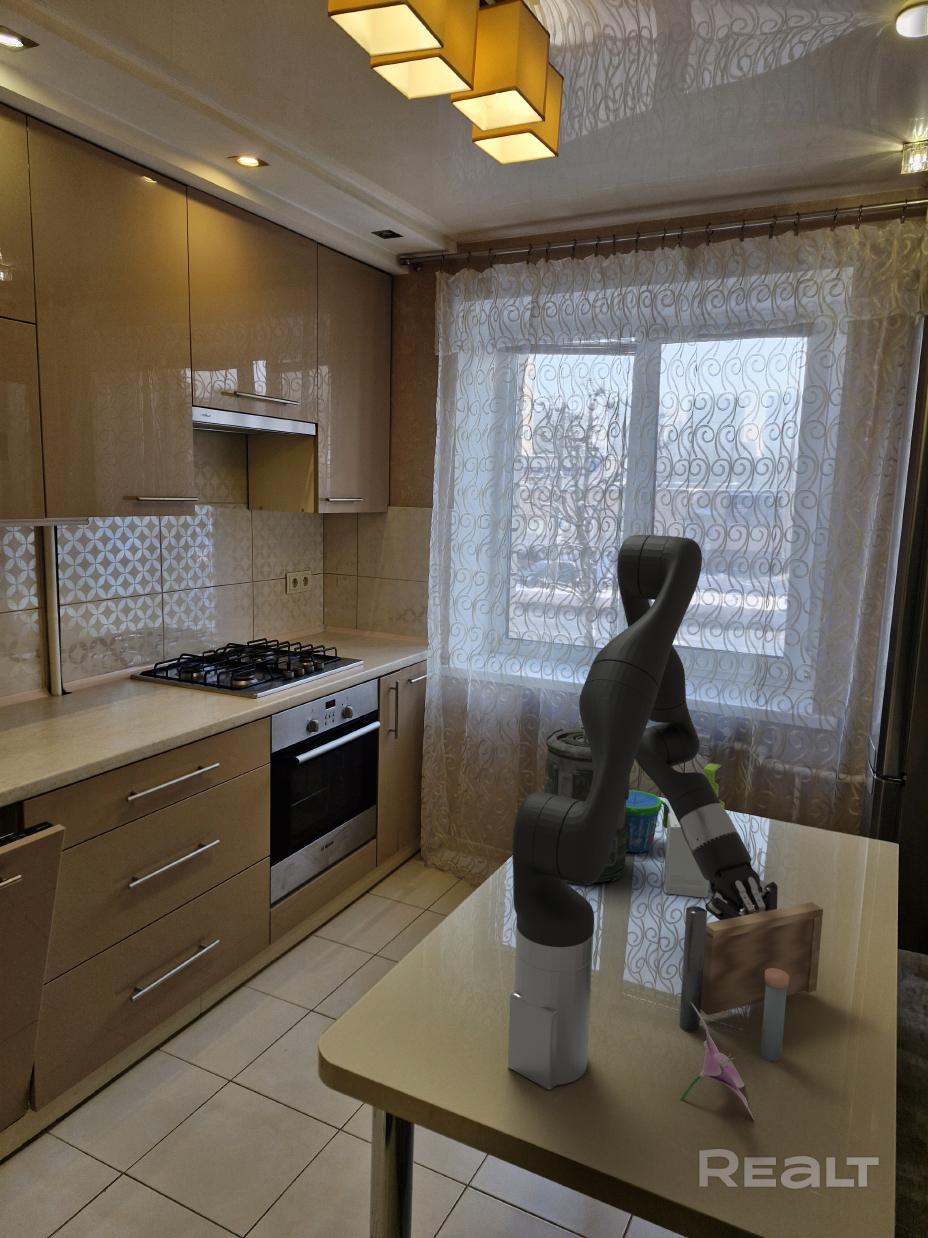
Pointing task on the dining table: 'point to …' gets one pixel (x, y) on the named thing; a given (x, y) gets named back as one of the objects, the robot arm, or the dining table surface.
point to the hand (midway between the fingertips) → (772, 958)
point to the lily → (719, 1068)
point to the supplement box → (681, 864)
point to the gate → (760, 955)
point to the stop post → (774, 1013)
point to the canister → (582, 787)
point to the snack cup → (643, 819)
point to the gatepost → (693, 968)
